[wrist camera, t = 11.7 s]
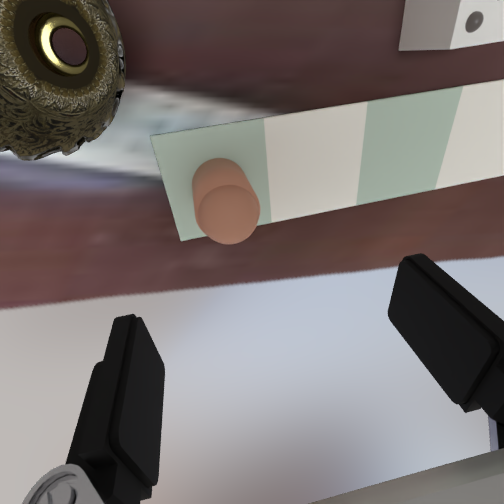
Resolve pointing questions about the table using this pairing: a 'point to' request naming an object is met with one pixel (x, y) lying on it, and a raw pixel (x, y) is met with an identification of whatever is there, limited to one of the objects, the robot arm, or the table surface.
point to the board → (344, 152)
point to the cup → (57, 76)
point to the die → (451, 24)
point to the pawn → (224, 201)
